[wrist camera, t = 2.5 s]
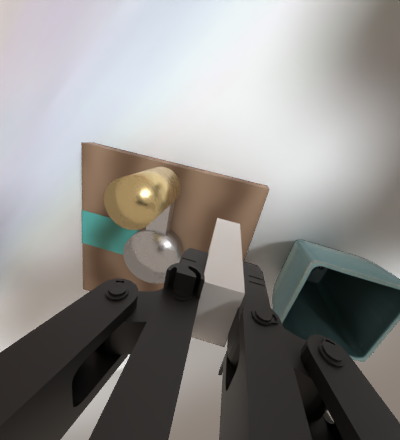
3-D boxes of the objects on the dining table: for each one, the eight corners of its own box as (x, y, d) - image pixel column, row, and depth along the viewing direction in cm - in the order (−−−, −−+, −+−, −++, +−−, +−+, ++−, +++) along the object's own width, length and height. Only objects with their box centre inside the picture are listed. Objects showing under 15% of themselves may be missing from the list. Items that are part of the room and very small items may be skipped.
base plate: (266, 185, 24) (271, 192, 20) (220, 320, 32) (218, 341, 29) (92, 142, 25) (71, 142, 22) (91, 281, 34) (75, 296, 30)
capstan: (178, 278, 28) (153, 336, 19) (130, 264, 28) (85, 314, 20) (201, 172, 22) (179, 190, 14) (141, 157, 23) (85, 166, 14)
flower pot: (287, 220, 25) (312, 259, 16) (360, 241, 24) (425, 293, 16) (262, 277, 28) (272, 334, 20) (325, 297, 27) (364, 364, 19)
